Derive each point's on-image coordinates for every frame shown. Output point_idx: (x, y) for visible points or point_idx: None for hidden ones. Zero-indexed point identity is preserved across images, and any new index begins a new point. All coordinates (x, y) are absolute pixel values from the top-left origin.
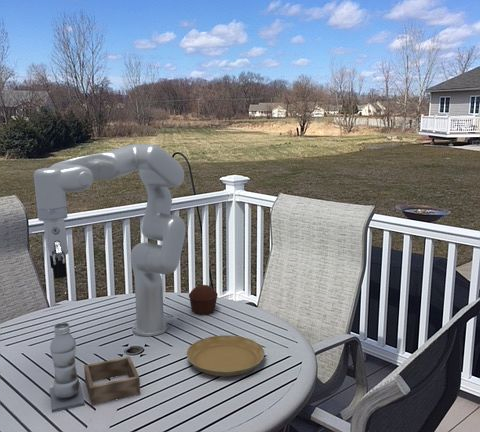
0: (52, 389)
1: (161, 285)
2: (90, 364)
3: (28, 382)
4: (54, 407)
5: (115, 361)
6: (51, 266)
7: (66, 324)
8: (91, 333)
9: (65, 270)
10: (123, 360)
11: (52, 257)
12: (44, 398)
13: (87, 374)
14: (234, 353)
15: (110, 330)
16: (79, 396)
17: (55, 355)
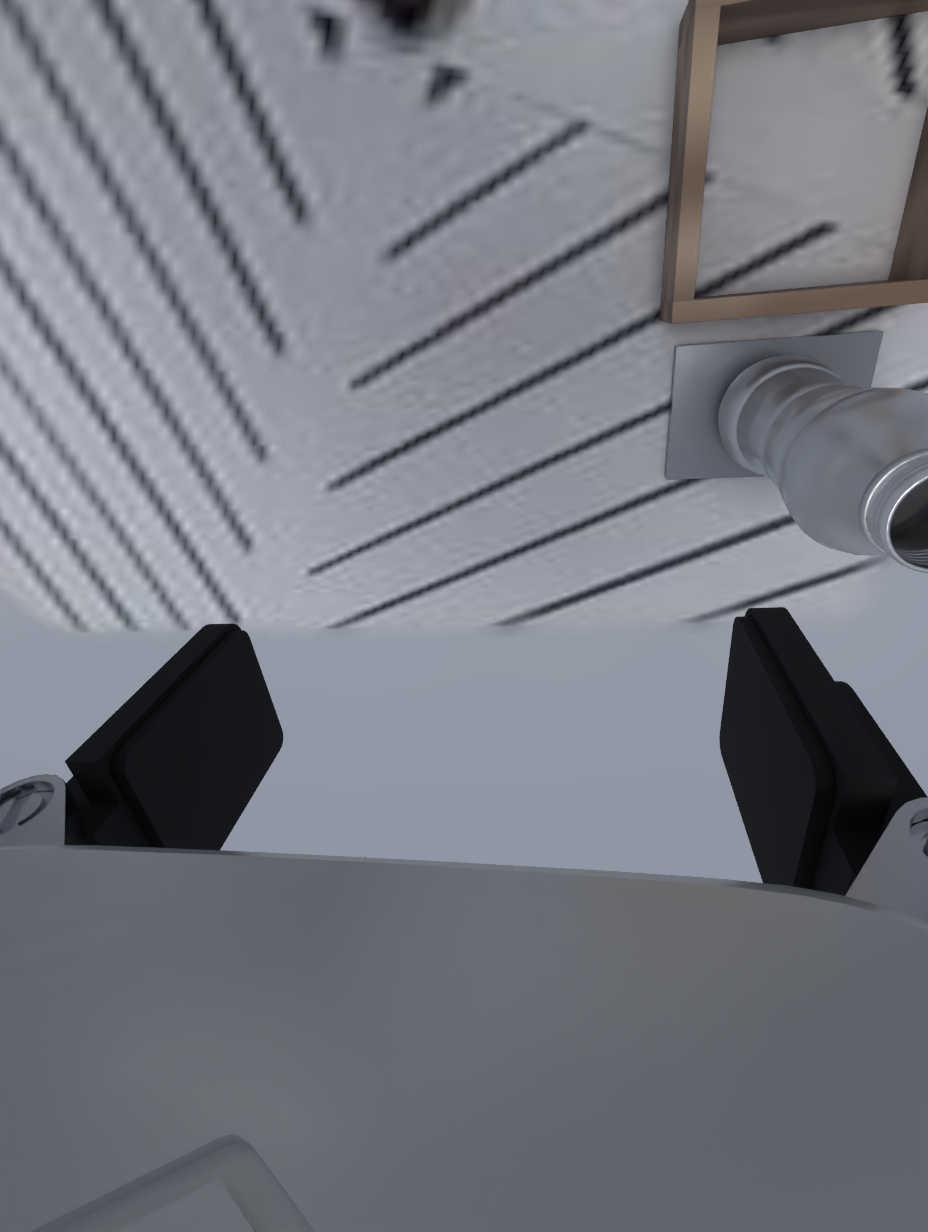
0: (684, 469)
1: None
2: (677, 285)
3: (558, 551)
4: None
5: (710, 109)
6: (273, 756)
7: (915, 480)
8: (155, 264)
9: (820, 675)
10: (716, 43)
11: (199, 845)
12: (715, 496)
13: (786, 308)
14: None
15: (122, 138)
16: (815, 353)
17: (908, 513)
